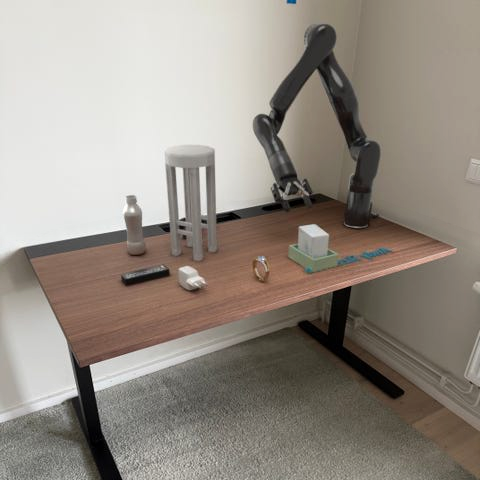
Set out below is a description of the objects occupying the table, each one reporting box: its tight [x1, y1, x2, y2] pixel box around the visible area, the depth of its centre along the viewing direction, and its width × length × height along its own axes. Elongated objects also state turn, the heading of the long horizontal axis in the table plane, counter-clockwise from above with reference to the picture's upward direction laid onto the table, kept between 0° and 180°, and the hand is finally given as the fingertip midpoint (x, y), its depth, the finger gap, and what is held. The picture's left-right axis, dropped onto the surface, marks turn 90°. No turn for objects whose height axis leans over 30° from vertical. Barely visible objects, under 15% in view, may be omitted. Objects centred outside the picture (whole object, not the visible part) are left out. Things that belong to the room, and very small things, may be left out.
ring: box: [252, 255, 270, 282], centre depth 147 cm, size 7×3×8 cm, turn 31°
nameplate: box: [304, 247, 393, 275], centre depth 162 cm, size 37×1×5 cm
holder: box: [287, 243, 340, 273], centre depth 160 cm, size 10×14×4 cm
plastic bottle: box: [122, 194, 147, 255], centre depth 162 cm, size 6×7×20 cm
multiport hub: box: [120, 264, 170, 287], centre depth 149 cm, size 4×14×2 cm, turn 122°
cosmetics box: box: [297, 223, 330, 259], centre depth 158 cm, size 10×6×10 cm, turn 19°
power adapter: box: [177, 265, 209, 291], centre depth 141 cm, size 11×5×6 cm, turn 39°
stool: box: [163, 144, 218, 262], centre depth 158 cm, size 16×16×35 cm
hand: (299, 209), depth 161 cm, fingers open, 8 cm apart
